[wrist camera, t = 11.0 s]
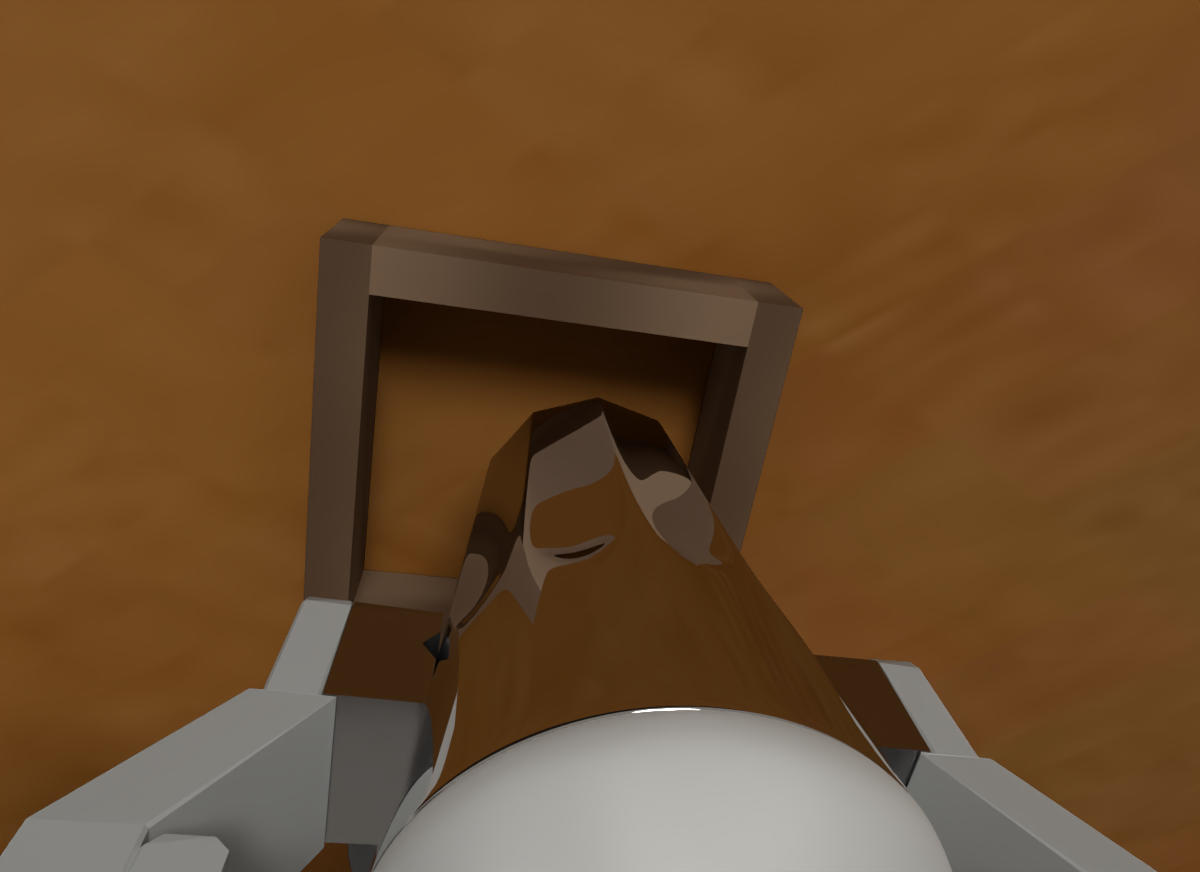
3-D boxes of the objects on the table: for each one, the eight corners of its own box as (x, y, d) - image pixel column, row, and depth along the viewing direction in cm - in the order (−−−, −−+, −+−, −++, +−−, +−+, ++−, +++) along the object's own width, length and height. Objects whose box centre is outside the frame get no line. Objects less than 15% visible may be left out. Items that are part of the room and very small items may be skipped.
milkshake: (565, 684, 15) (627, 1615, 6) (385, 450, 13) (69, 1301, 4) (793, 563, 15) (1251, 1387, 5) (641, 300, 13) (957, 893, 3)
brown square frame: (770, 283, 16) (803, 308, 15) (686, 630, 19) (705, 688, 18) (343, 218, 15) (320, 237, 13) (322, 598, 18) (300, 657, 16)
